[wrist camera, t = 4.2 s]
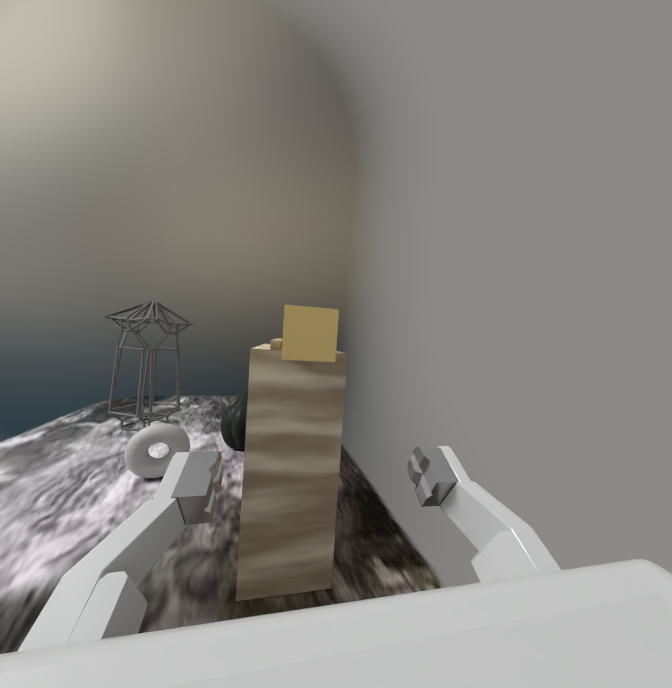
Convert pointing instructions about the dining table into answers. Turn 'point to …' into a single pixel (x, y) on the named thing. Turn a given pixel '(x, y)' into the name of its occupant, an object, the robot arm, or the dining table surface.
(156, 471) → the donut
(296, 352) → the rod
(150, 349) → the geometric lantern
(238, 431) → the squash
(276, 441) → the plinth
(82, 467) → the dining table surface
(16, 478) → the dining table surface
